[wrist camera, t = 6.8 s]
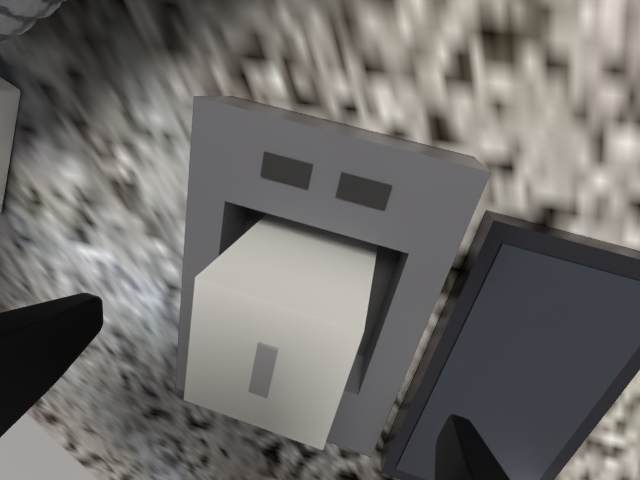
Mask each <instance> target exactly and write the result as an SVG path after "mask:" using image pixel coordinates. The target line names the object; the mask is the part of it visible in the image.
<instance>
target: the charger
mask: <svg viewBox="0 0 640 480" xmlns="http://www.w3.org/2000/svg"><path fill="white" fill-rule="evenodd" d="M377 248H378V245H377V244H373V243H370V242H366V241H363V240H359V239H356V238H352V237H349V236H345V235H342V234H338V233H335V232H331V231H328V230H324V229H321V228H317V227H314V226H310V225H307V224H303V223H300V222H296V221H293V220H289V219H286V218H282V217H279V216H275V215H272V214H268V213H267V214H266V215H265V216H264V217H263V218H262V219H261V220H260V221H258V222H257V223H256V224H255V225H254V226H253V227H252V228H250V229H249V230H248V231H247V232H246V233H245V234H244V235H243V236H241V237H240V238H239V239H238V240H237V241H236V242H235V243H233V244H232V245H231V246H230V247H229V248H228V249H227V250H226V251H224V252H223V253H222V254H221V255H220V256H219V257H218V258H216V259H215V260H214V261H213V262H212V263H211V264H210V265H209V266H207V267H206V268H205V269H204V270H203V271H202V272H201V273H199V274H198V275H197V276H196V277H195V284H194V295H193V305H192V316H191V327H190V338H189V349H188V360H187V370H186V381H185V392H184V400H185V401H188V402H190V403H193V404H196V405H199V406H201V407H204V408H207V409H210V410H212V411H215V412H218V413H221V414H223V415H226V416H229V417H232V418H234V419H237V420H240V421H243V422H245V423H248V424H251V425H254V426H257V427H259V428H262V429H265V430H268V431H270V432H273V433H276V434H279V435H281V436H284V437H287V438H290V439H292V440H295V441H298V442H301V443H303V444H306V445H309V446H312V447H314V448H317V449H320V450H323V448H324V445H325V443H326V440H327V437H328V434H329V431H330V428H331V425H332V422H333V420H334V417H335V414H336V411H337V408H338V405H339V402H340V399H341V397H342V394H343V391H344V388H345V385H346V382H347V379H348V376H349V373H350V371H351V368H352V365H353V362H354V359H355V356H356V353H357V350H358V348H359V345H360V342H361V339H362V336H363V333H364V329H365V322H366V316H367V310H368V304H369V298H370V291H371V285H372V279H373V273H374V267H375V260H376V254H377Z"/></svg>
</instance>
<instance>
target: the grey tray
mask: <svg viewBox="0 0 640 480" xmlns="http://www.w3.org/2000/svg"><path fill="white" fill-rule="evenodd" d="M490 173H491V172H490V171H489V170H488V169H487V168H486V167H485V166H484V165H482V164H481V163H480V162H479V161H478V160H477V159H476V158H474V157H473V156H469V155H465V154H461V153H457V152H453V151H449V150H445V149H441V148H437V147H433V146H429V145H425V144H421V143H417V142H413V141H409V140H405V139H401V138H397V137H393V136H389V135H385V134H381V133H377V132H373V131H369V130H365V129H361V128H357V127H353V126H349V125H345V124H341V123H337V122H333V121H329V120H325V119H321V118H317V117H313V116H309V115H305V114H301V113H297V112H293V111H290V110H286V109H282V108H278V107H274V106H270V105H266V104H262V103H258V102H254V101H250V100H246V99H242V98H238V97H234V96H194V102H193V118H192V133H191V149H190V165H189V180H188V196H187V212H186V227H185V243H184V259H183V274H182V290H181V306H180V321H179V337H178V353H177V368H176V384H175V388H176V389H179V390H182V391H185V381H186V370H187V360H188V349H189V338H190V327H191V316H192V305H193V295H194V284H195V277H196V276H197V275H198V274H199V273H201V272H202V271H203V270H204V269H205V268H206V267H207V266H209V265H210V264H211V263H212V262H213V261H214V260H215V259H216V258H218V257H219V256H220V255H221V254H222V253H223V252H224V251H226V250H227V249H228V248H229V247H230V246H231V245H232V244H233V243H235V242H236V241H237V240H238V239H239V238H240V237H241V236H243V235H244V234H245V233H246V232H247V231H248V230H249V229H250V228H252V227H253V226H254V225H255V224H256V223H257V222H258V221H260V220H261V219H262V218H263V217H264V216H265V215H266V214H267V213H268V214H272V215H275V216H279V217H282V218H286V219H289V220H293V221H296V222H300V223H303V224H307V225H310V226H314V227H317V228H321V229H324V230H328V231H331V232H335V233H338V234H342V235H345V236H349V237H352V238H356V239H359V240H363V241H366V242H370V243H373V244H377V245H378V248H377V254H376V260H375V267H374V273H373V279H372V285H371V291H370V298H369V304H368V310H367V316H366V322H365V329H364V333H363V336H362V339H361V342H360V345H359V348H358V350H357V353H356V356H355V359H354V362H353V365H352V368H351V371H350V373H349V376H348V379H347V382H346V385H345V388H344V391H343V394H342V397H341V399H340V402H339V405H338V408H337V411H336V414H335V417H334V420H333V422H332V425H331V428H330V431H329V434H328V437H327V440H326V441H327V442H330V443H332V444H335V445H338V446H341V447H344V448H347V449H350V450H352V451H355V452H358V453H361V454H364V455H367V456H369V457H371V456H372V454H373V451H374V449H375V446H376V444H377V442H378V439H379V437H380V435H381V432H382V430H383V427H384V425H385V423H386V420H387V418H388V416H389V413H390V411H391V408H392V406H393V404H394V401H395V399H396V397H397V394H398V392H399V389H400V387H401V385H402V382H403V380H404V377H405V375H406V373H407V370H408V368H409V366H410V363H411V361H412V358H413V356H414V354H415V351H416V349H417V347H418V344H419V342H420V339H421V337H422V335H423V332H424V330H425V328H426V325H427V323H428V320H429V318H430V316H431V313H432V311H433V309H434V306H435V304H436V301H437V299H438V297H439V294H440V292H441V290H442V287H443V285H444V282H445V280H446V278H447V275H448V273H449V271H450V268H451V266H452V263H453V261H454V259H455V256H456V254H457V252H458V249H459V247H460V244H461V242H462V240H463V237H464V235H465V233H466V230H467V228H468V225H469V223H470V221H471V218H472V216H473V213H474V211H475V209H476V206H477V204H478V202H479V199H480V197H481V194H482V192H483V190H484V187H485V185H486V183H487V180H488V178H489V175H490Z"/></svg>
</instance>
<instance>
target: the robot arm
mask: <svg viewBox="0 0 640 480" xmlns="http://www.w3.org/2000/svg"><path fill="white" fill-rule="evenodd" d="M102 326H103V305H102V300H101V298H100V297H98V296H95V295H92V294H89V293H80V294H76V295H72V296H68V297H64V298H60V299H55V300H51V301H47V302H43V303H39V304H35V305H31V306H27V307H22V308H18V309H14V310H10V311H6V312H2V313H0V437H1V436H2V435H3V434H4V433H5V432H6V431H7V430H8V429H9V428H10V427H11V426H12V425H13V424H14V423H16V422H17V420H19V419H20V418H21V416H23V415H24V414H25V413H26V412H27V411H28V410H29V409H30V408H31V407H32V406H33V405H34V404H35V403H36V402H37V401H38V400H39V399H40V398H41V397H42V396H43V395H44V394H45V393H46V392H47V391H48V390H49V389H50V388H51V387H52V386H53V385H54V384H55V383H56V382H57V381H58V380H59V378H60V377H61V376H62V375H63V374H64V373H65V372H66V371H67V369H68V368H69V367H70V366H71V365H72V363H73V362H74V361H75V360H76V359H77V358H78V356H79V355H80V354H81V353H82V352H83V351H84V349H85V348H86V347H87V346H88V345H89V343H90V342H91V341H92V340H93V339H94V338H95V336H96V335H97V334H98V333H99V332H100V330H101V328H102ZM434 480H510V479H509V477H508V476H507V474H506V473H505V471H504V470H503V468H502V467H501V465H500V464H499V462H498V461H497V459H496V458H495V456H494V455H493V453H492V452H491V450H490V449H489V447H488V446H487V445H486V443H485V442H484V440H483V439H482V437H481V436H480V434H479V433H478V431H477V430H476V428H475V427H474V425H473V424H472V422H471V421H470V420H469V419H467V418H464V417H461V416H458V415H455V414H451V415H449V417H448V418H447V420H446V422H445V424H444V426H443V428H442V430H441V431H440V433H439V435H438V438H437V441H436V450H435V479H434Z"/></svg>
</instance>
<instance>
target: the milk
mask: <svg viewBox="0 0 640 480" xmlns="http://www.w3.org/2000/svg"><path fill="white" fill-rule="evenodd" d="M19 100H20V90H19V89H18V88H16V87H15V86H13V85H12V84H10V83H9V82H7V81H6V80H4V79H2V78H1V77H0V213H1V211H2V206H3V199H4V193H5V187H6V181H7V174H8V168H9V162H10V156H11V149H12V143H13V137H14V131H15V125H16V118H17V112H18V106H19Z"/></svg>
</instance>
